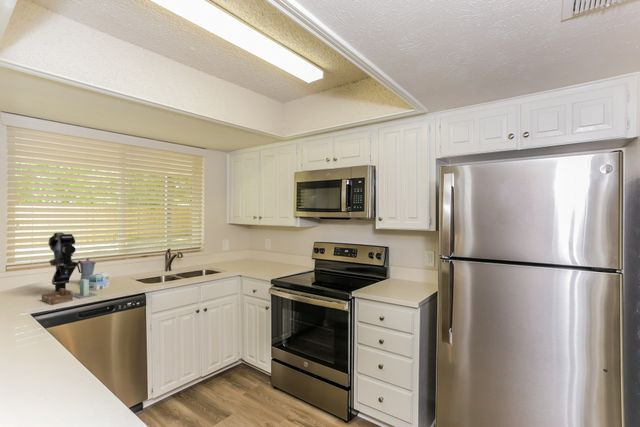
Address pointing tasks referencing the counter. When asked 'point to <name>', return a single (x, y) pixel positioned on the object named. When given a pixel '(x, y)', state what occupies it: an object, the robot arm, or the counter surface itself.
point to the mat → (84, 296)
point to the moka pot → (86, 269)
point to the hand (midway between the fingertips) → (65, 276)
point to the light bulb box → (99, 281)
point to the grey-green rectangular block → (84, 287)
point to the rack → (64, 297)
